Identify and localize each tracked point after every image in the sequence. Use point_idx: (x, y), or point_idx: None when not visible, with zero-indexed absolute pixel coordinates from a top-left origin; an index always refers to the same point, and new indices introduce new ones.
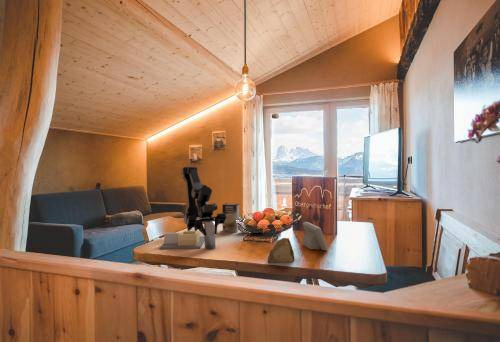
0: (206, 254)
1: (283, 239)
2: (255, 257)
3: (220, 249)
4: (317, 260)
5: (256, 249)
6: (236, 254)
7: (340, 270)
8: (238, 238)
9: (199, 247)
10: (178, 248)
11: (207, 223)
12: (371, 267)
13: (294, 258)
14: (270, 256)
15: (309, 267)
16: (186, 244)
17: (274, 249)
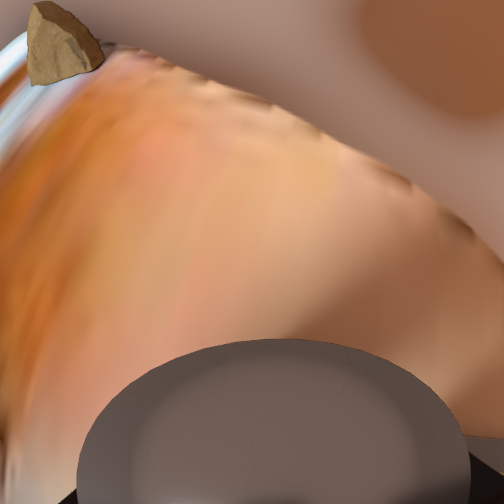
0: (341, 230)
1: (41, 5)
2: (100, 105)
3: (200, 318)
4: (12, 76)
5: (23, 216)
6: (146, 161)
7: None
8: (25, 500)
9: None
10: (501, 439)
11: (395, 375)
12: (4, 51)
13: (31, 82)
14: (95, 39)
15: None
16: None
17: (75, 22)
